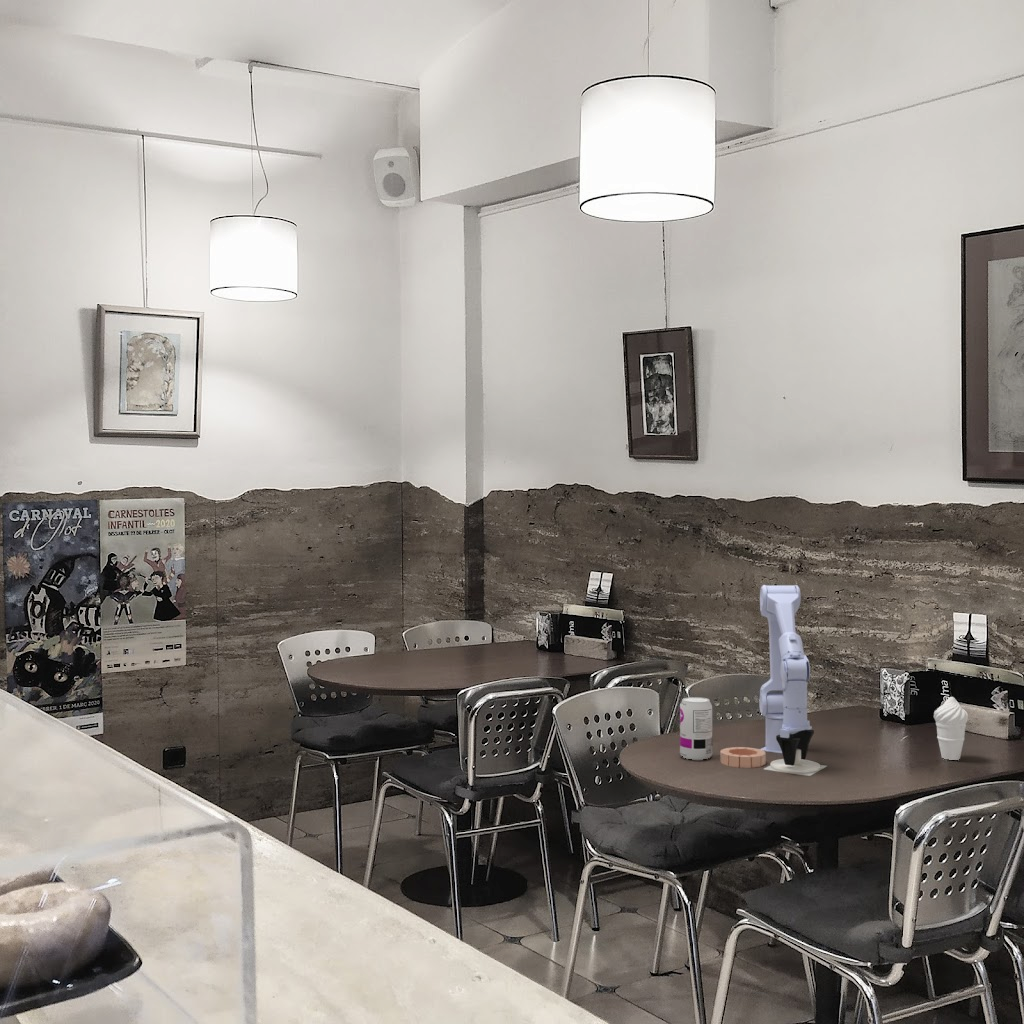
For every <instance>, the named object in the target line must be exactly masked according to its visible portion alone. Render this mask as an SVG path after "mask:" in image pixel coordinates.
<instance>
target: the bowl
mask: <svg viewBox="0 0 1024 1024" xmlns="http://www.w3.org/2000/svg"><path fill="white" fill-rule="evenodd" d="M760 749H761V748H756V747H755V748H754V747H745V746H743V747H742V746H735V747H734V746H733V747H726V748H725V747H724V748H722V749H720V754H719V755H720V756H719V758H720V763H721V764H722V765H724V766H727V767H732V768H740V769H741V768H743V769H744V768H746V769H747V768H748V769H749V768H750V769H752V768H761V767H763V766H765V765H766V764H767V753H766V751H763V750H760Z"/></svg>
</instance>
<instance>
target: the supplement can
mask: <svg viewBox="0 0 1024 1024" xmlns="http://www.w3.org/2000/svg"><path fill="white" fill-rule="evenodd" d="M679 755H680V756H681V757H682V756H683V757H682V758H683V759H685V758H686V759H685V760H688V759H692V760H691V761H704V760H703V759H707V760H709V759H710V758H711V757H712V756H713V705H712V702H711V701H710V699H709V698H706V697H699V696H698V697H695V696H694V697H693V696H692V697H691V696H689V697H684V698H682V699H681V702H680V704H679ZM708 758H709V759H708Z"/></svg>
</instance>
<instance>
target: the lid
mask: <svg viewBox="0 0 1024 1024" xmlns="http://www.w3.org/2000/svg"><path fill="white" fill-rule="evenodd" d="M820 765H821V764H820V763H818V762H816V761H812V760H808V759H801V750H800V749H797V750H796V757H795V763H794V765H793V766H791V765H785V762H784V758H781V759H780V758H779V759H776V760H775V759H774V760H772V761H771V762H770V765H769V766H771V768H772V769H774V770H777V771H776V772H778V771H781V772H780V773H785V772H787V773H786V774H792V773H813V772H816V773H818V772H820V771H821V770H820ZM819 770H820V771H819ZM817 771H818V772H817Z"/></svg>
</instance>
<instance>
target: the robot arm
mask: <svg viewBox="0 0 1024 1024" xmlns="http://www.w3.org/2000/svg"><path fill="white" fill-rule="evenodd" d="M801 596H802V594H801V589H800V587H799V586H798V584H794V585H789V584H788V585H766V584H763V585H761V587H760V590H759V610H760V615H761V616H763V618H764V617H765V618H767V623H768V635H769V636H768V641H769V645H768V646H769V647H768V648H769V672H770V673H769V674H770V675H769V677H770V678H769V679H768V681H766V682H765V683H763V684H762V685H761V686H760V689H759V701H758V705H759V712H760V714H761V715H762V716H763V717H765V746H764V747H762V748H759V749H760V750H763V751H765V752H768V753H770V752H771V753H775V754H782V757H783V758H782V759H784V762H785V765H791V766H793V765H794V763H795V757H796V750H797V749H800V750H801V759H803V760H806V758H807V754H808V750H809V745H810V742H811V739H812V737H813V735H814V734H815V730H814V729H813V727H812V726H813V725H811V722H810V720H808V682H809V681H810V677H811V667H810V665H811V664H810V660H809V659H808V657H807V655H806V654H805V650H804V647H803V640H802V637H801V636H800V635H799V634H798V633H796V632H797V631H796V621H795V619H796V617H795V616H796V613H797V612H798V610H799V607H800V605H801V602H802V600H801V598H802V597H801ZM773 691H774V692H773ZM781 691H782V692H781Z"/></svg>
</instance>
